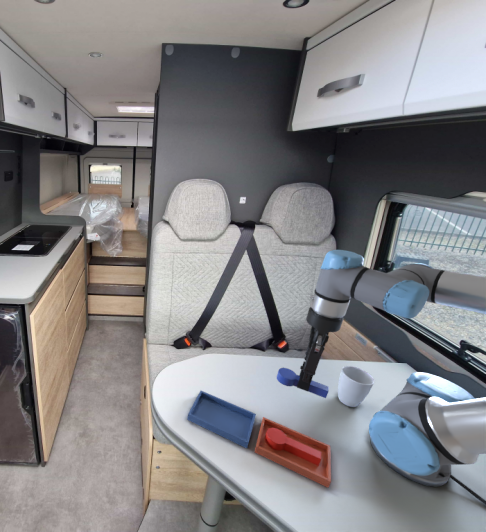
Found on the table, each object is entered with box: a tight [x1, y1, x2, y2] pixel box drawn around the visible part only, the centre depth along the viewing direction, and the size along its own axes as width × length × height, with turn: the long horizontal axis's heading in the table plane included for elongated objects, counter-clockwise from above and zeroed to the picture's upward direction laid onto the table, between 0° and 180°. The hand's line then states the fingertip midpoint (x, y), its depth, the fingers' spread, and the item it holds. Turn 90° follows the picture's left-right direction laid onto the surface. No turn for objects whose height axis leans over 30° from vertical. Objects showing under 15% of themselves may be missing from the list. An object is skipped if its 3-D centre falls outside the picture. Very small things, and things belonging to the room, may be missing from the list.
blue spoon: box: [276, 367, 330, 399], centre depth 85 cm, size 12×5×2 cm, turn 58°
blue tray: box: [186, 390, 257, 449], centre depth 86 cm, size 16×11×2 cm, turn 59°
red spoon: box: [265, 428, 321, 466], centre depth 77 cm, size 12×5×2 cm, turn 59°
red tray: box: [254, 416, 332, 489], centre depth 78 cm, size 16×11×2 cm, turn 59°
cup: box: [337, 365, 376, 408], centre depth 93 cm, size 8×8×10 cm
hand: (302, 385), depth 85 cm, fingers closed on blue spoon, 2 cm apart
